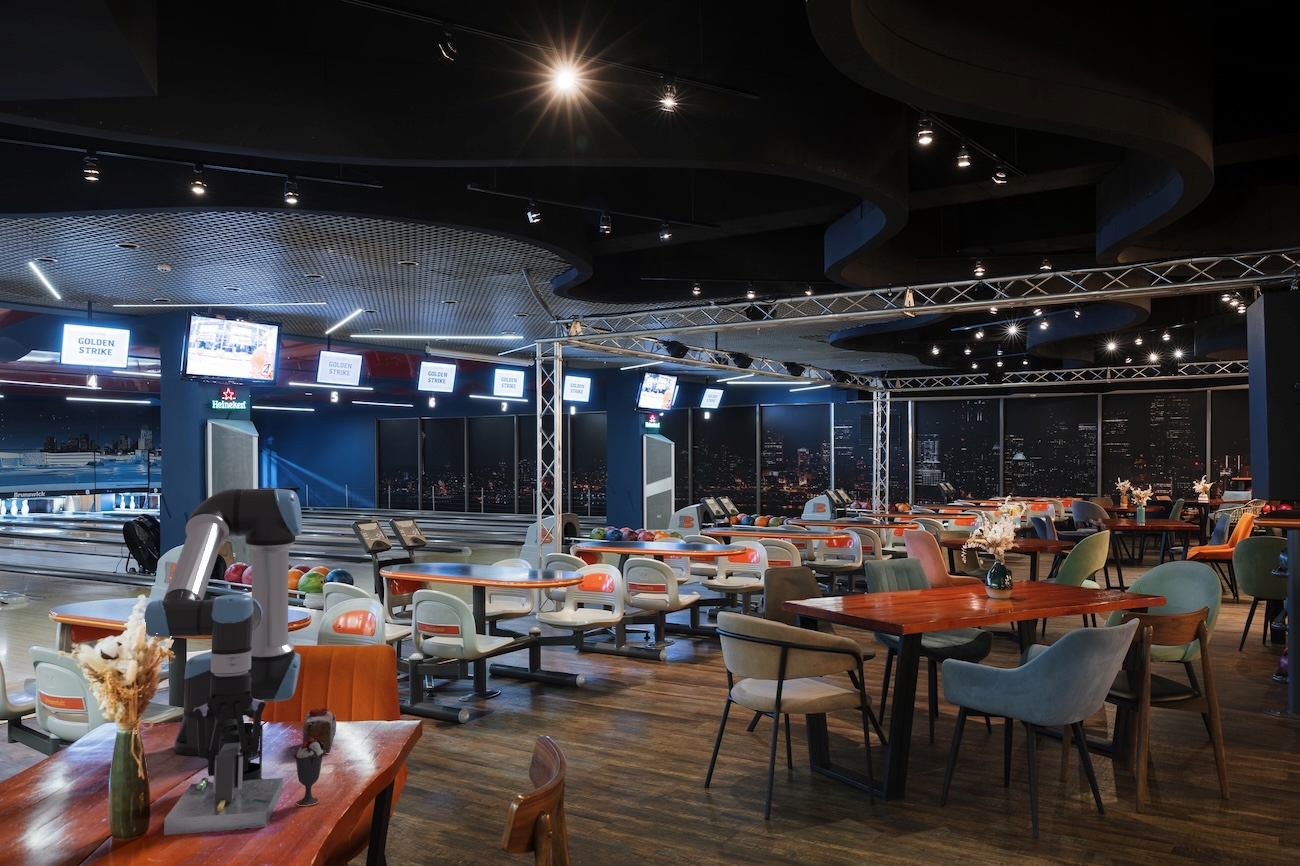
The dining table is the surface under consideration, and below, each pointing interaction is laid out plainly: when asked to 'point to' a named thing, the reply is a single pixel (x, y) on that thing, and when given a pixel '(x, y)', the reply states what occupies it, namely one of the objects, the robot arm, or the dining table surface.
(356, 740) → the dining table surface
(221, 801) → the dark grey rectangular block
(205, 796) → the base
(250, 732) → the french press
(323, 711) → the food item
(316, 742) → the sundae
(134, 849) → the dining table surface
